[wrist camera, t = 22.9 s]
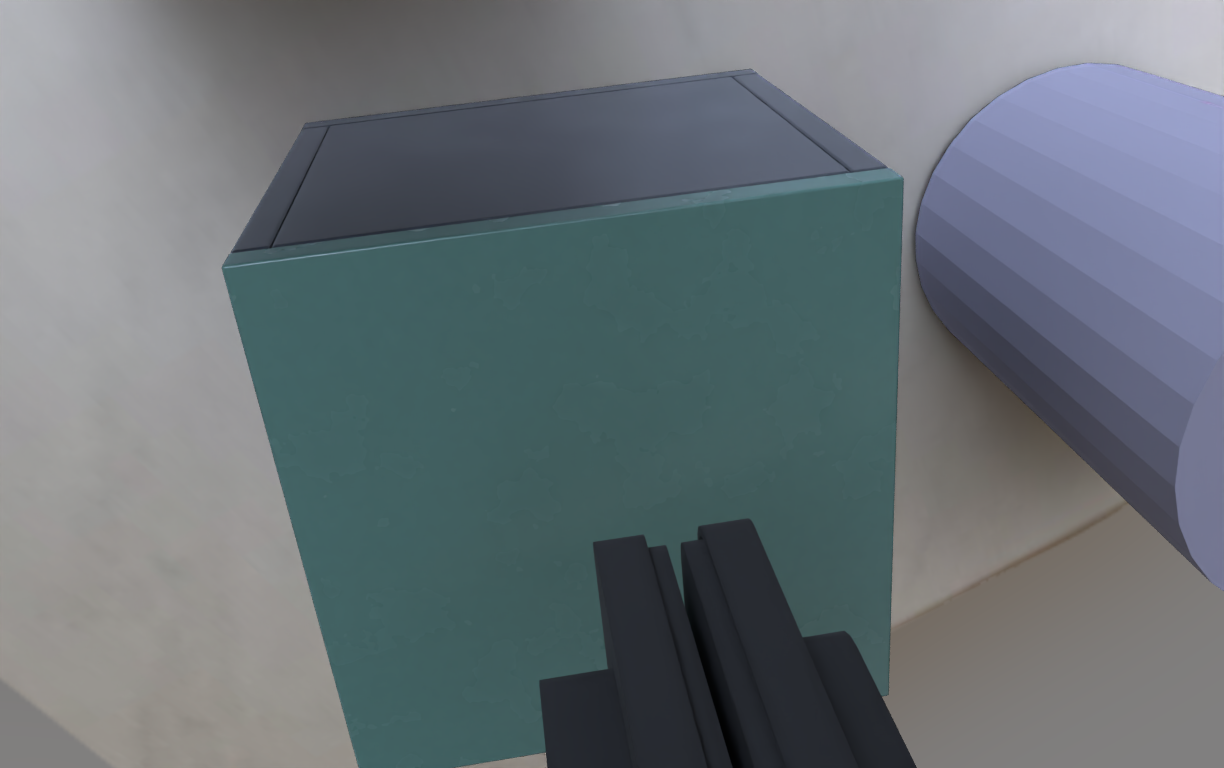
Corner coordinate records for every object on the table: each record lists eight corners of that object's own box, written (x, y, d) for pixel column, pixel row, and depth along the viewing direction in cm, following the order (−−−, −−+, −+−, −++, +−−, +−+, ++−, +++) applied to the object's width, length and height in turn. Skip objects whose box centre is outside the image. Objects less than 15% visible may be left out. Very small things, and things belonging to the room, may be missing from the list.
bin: (764, 436, 39) (878, 651, 28) (386, 492, 38) (358, 736, 27) (751, 68, 33) (889, 166, 22) (304, 122, 32) (228, 252, 21)
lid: (878, 675, 29) (889, 696, 28) (364, 760, 28) (362, 783, 27) (890, 166, 22) (904, 176, 22) (227, 252, 21) (220, 266, 21)
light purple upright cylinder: (1029, 408, 40) (1319, 687, 26) (849, 233, 36) (1082, 457, 22) (1259, 202, 37) (1709, 395, 24) (1093, -11, 33) (1520, 77, 20)
